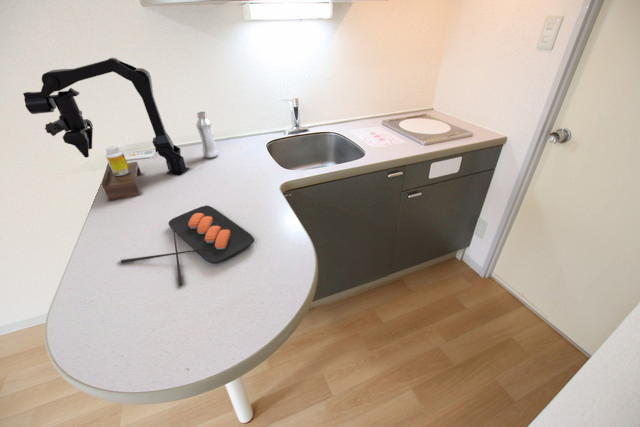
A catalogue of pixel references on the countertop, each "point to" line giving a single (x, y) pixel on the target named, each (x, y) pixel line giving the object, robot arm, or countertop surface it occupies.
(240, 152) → the countertop surface
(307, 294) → the countertop surface
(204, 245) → the sushi plate
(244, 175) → the countertop surface
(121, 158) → the supplement bottle
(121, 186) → the shelf
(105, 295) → the countertop surface
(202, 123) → the plastic bottle
